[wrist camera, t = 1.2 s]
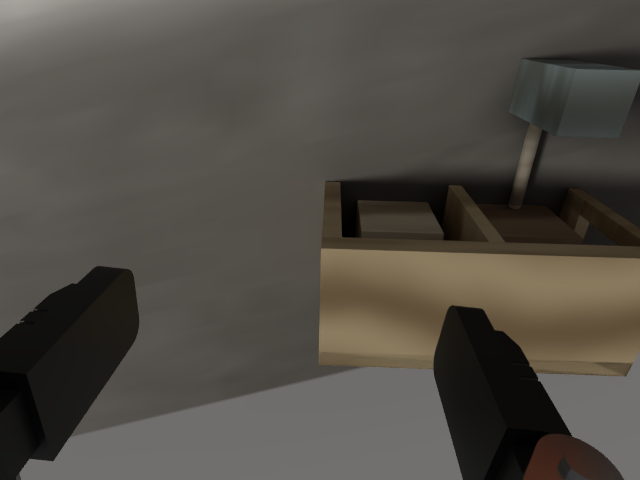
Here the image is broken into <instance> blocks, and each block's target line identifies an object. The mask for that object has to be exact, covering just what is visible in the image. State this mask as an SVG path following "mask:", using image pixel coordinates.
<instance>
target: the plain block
mask: <svg viewBox="0 0 640 480" xmlns="http://www.w3.org/2000/svg"><path fill="white" fill-rule="evenodd" d="M443 236H444V233H443V231H442V229H441V227H440V225H439V223H438V221H437V219H436V218H435V216H434V214H433V212H432V210H431V208H430V206H429V204H428V202H403V201H368V200H358V201H357V216H356V231H355V238H379V239H411V240H443Z"/></svg>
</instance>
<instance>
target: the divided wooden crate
mask: <svg viewBox="0 0 640 480" xmlns="http://www.w3.org/2000/svg"><path fill="white" fill-rule="evenodd" d="M559 218H560V219H561V220H562V221H563V222H565V223H566V224H567V225H568V226H569V227H570V228H572V229H573V230H574V231H575V232H576V233H577V234H578V235H580V236H581V237H582V238H583V239H584V236H585V234H586V231H587V228H588V226H589V223H591V224H592V225H594V226H595V227H596V228H597V229H599V230H600V231H601V232H603V233H604V234H605V235H606V236H608V237H609V238H610V239H612V240H613V241H614V242H615V243H617V244H618V245H619V246H604V245H582V244H581V245H572V244H540V243H508V242H505V241H504V240H503V238H502V237H501V236H500V235H499V233H498V232H497V231H496V229H495V228H494V227H493V226H492V224H491V223H490V222H489V220H488V219H487V218H486V217H485V215H484V214H483V213H482V211H481V210H480V209H479V208H478V206H477V205H476V204H475V203H474V201H473V200H472V199H471V197H470V196H469V195H468V194H467V192H466V191H465V190H464V188H463V187H462V186H461V185H449V189H448V194H447V200H446V206H445V211H444V217H443V222H442V228H441V229H442V231H443V233H444V236H443V240H411V239H379V238H347V237H342V222H341V191H340V182H325V196H324V212H323V228H322V244H321V282H320V328H319V365H336V366H362V367H390V368H416V369H434V368H433V363H434V354H435V350H436V346H437V343H438V340H439V336H440V333H441V329H442V326H443V323H444V319H445V316H446V313H447V310H448V308H449V307H450V306H451V305H454V306H464V307H473V308H481V309H483V310H484V311H485V313H486V315H487V317H488V319H489V320H490V322H491V324H492V326H493V328H494V330H498V331H503V332H505V333H506V334H507V335H508V336H509V337H510V338H511V339H512V340H513V341H514V342H515V343H517V344H518V345H519V346H520V348H521V349H522V351H523V353H524V354H525V356H526V358H527V360H528V361H529V363H530V367H532V368H533V370H534V372H535V373H549V374H574V375H575V374H576V375H601V376H626V375H627V374H628V372H629V370H630V368H631V366H632V364H633V362H634V360H635V358H636V356H637V355H638V352H639V351H640V228H638V227H637V226H635V225H634V224H632V223H631V222H629V221H628V220H626V219H625V218H623V217H622V216H620V215H619V214H617V213H616V212H614V211H613V210H611V209H610V208H608V207H607V206H605V205H604V204H603V203H601V202H600V201H598V200H597V199H595V198H594V197H592V196H591V195H589V194H588V193H586V192H585V191H583V190H582V189H570V188H568V191H567V194H566V197H565V201H564V204H563V207H562V210H561V213H560V216H559ZM582 242H583V241H582Z"/></svg>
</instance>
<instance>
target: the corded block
mask: <svg viewBox="0 0 640 480" xmlns="http://www.w3.org/2000/svg"><path fill="white" fill-rule="evenodd" d="M639 84H640V70H637V69H630V68H624V67H617V66H611V65H604V64H598V63H591V62H585V61H578V60H556V59H521V63H520V67H519V71H518V76H517V80H516V84H515V89H514V93H513V97H512V101H511V106H510V110H509V112H510V113H511V114H513V115H515V116H517V117H519V118H521V119H523V120H525V121H527V122H529V126H528V130H527V134H526V137H525V141H524V145H523V149H522V153H521V157H520V161H519V164H518V168H517V172H516V176H515V180H514V184H513V188H512V192H511V195H510V199H509V203H508V205H505V204H476V205H477V206H478V208H479V209H480V210H481V211H482V213H483V214H484V215H485V217H486V218H487V219H488V220H489V222H490V223H491V224H492V226H493V227H494V228H495V229H496V231H497V232H498V233H499V235H500V236H501V237H502V238H503V240H504V241H505V242H508V243H540V244H572V245H581V244H582V241H583V238H582V237H581V236H580V235H578V234H577V233H576V232H575V231H574V230H573V229H572V228H570V227H569V226H568V225H567V224H566V223H565V222H563V221H562V220H561V219H560V218H559V217H558V216H557V215H555V214H554V213H553V212H552V211H551V210H550V209H548V208H547V207H546V206H539V205H522V202H523V198H524V195H525V191H526V187H527V184H528V180H529V176H530V173H531V169H532V166H533V162H534V158H535V155H536V151H537V147H538V144H539V140H540V137H541V133H542V129H543V130H545V131H547V132H549V133H551V134H553V135H555V136H560V137H600V138H620V135H621V132H622V130H623V127H624V124H625V122H626V119H627V116H628V113H629V111H630V108H631V105H632V103H633V100H634V97H635V94H636V92H637V89H638V86H639Z"/></svg>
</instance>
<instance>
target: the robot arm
mask: <svg viewBox="0 0 640 480" xmlns="http://www.w3.org/2000/svg"><path fill="white" fill-rule="evenodd" d="M138 328H139V314H138V306H137V298H136V290H135V282H134V276H133V273H132V272H131V270H129V269H121V268H112V267H103V266H97V267H95V268H94V269H92V270H91V271H90V272H89V273H88V274H87V275H86V276H85V277H84V278H83V279H82V280H80V281H79V282H78V283H77V284H73V283H72V284H70V285H68V286H66V287H64V288H62V289H60V290H58V291H56V292H54V293H52V294H50V295H49V296H48V297H46V298H45V299H44V300H43V301H42V302H41V303H40V304H38V305H37V306H36V307H35V308H34V311H33V312H29V313H28V314H27V315H26V316H25V317H24V318H23V319H21V320H20V323H19V324H16V325H15V326H13V327H12V328H11V329H10V330H9V331H8V332H7V333H5V334H4V335H3V336H2V337H1V338H0V480H21V477H20V474H19V472H20V471H21V469H22V468H23V467H24V465H25V464H26V463H27V461H28V460H29V459H38V460H47V461H54V459H55V458H56V456H57V455H58V453H59V452H60V450H61V449H62V447H63V446H64V444H65V443H66V442H67V440H68V438H69V437H70V436H71V434H72V433H73V431H74V430H75V428H76V427H77V425H78V424H79V422H80V421H81V420H82V418H83V417H84V415H85V414H86V412H87V411H88V409H89V408H90V406H91V405H92V403H93V402H94V400H95V399H96V398H97V396H98V395H99V393H100V392H101V390H102V389H103V387H104V386H105V384H106V383H107V381H108V380H109V378H110V377H111V375H112V374H113V373H114V371H115V370H116V368H117V367H118V365H119V364H120V362H121V361H122V359H123V358H124V356H125V355H126V353H127V352H128V351H129V349H130V348H131V346H132V345H133V343H134V341H135V339H136V336H137V333H138ZM433 368H434V377H435V380H436V384H437V388H438V391H439V395H440V398H441V402H442V405H443V409H444V413H445V416H446V420H447V423H448V427H449V431H450V434H451V438H452V441H453V445H454V449H455V452H456V456H457V459H458V463H459V467H460V470H461V474H462V477H463V480H624V479H623V477H622V475H621V474H620V472H619V471H618V470H617V468H616V467H615V466H614V465H613V464H612V463H611V461H609V460H608V458H606V457H605V456H604V455H603V454H602V453H601V452H599V451H598V450H597V449H595V448H594V447H592V446H591V445H589V444H587V443H585V442H584V441H582V440H580V439H577V438H574V437H572V435H571V433H570V432H569V430H568V428H567V426H566V425H565V423H564V421H563V420H562V418H561V416H560V414H559V413H558V411H557V410H556V408H555V406H554V404H553V402H552V401H551V399H550V397H549V396H548V394H547V392H546V391H545V389H544V387H543V385H542V384H541V382H539V381H538V377H537V375H536V373H535V372H534V370H533V368H532V367H530V363H529V361H528V360H527V358H526V356H525V354H524V353H523V351H522V349H521V348H520V346H519V345H518V344H517V343H515V342H514V341H513V340H512V339H511V338H510V337H509V336H508V335H507V334H506V333H505V332H503V331H498V330H494V328H493V326H492V324H491V322H490V320H489V319H488V317H487V315H486V313H485V311H484V310H483V309H481V308H473V307H464V306H454V305H451V306H450V307H449V308H448V310H447V313H446V316H445V319H444V323H443V326H442V329H441V333H440V336H439V340H438V343H437V346H436V350H435V354H434V363H433Z"/></svg>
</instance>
